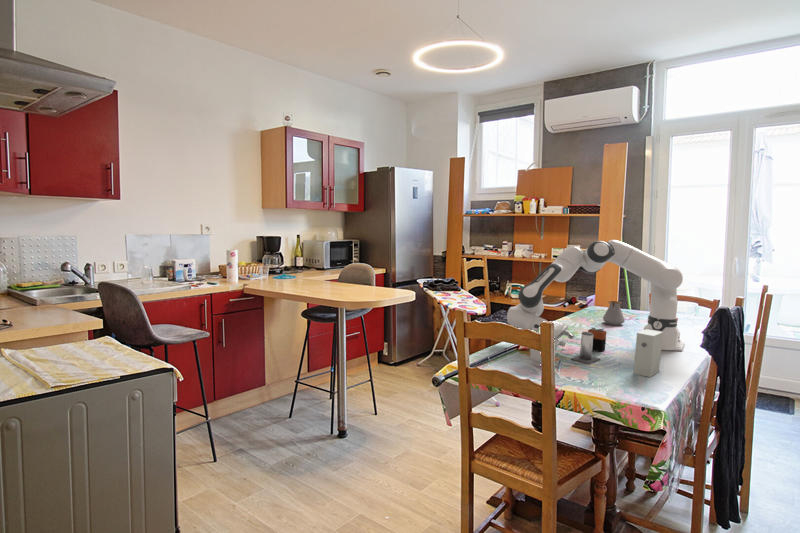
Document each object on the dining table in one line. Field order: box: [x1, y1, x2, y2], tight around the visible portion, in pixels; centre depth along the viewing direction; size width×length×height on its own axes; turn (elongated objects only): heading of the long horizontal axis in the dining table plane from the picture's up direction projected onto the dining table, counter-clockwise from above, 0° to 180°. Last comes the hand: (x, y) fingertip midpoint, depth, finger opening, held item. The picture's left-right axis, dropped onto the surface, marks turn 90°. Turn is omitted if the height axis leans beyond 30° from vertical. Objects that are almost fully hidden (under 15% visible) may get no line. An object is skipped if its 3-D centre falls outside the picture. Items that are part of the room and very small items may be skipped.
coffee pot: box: [602, 300, 626, 326], centre depth 262 cm, size 21×12×15 cm, turn 151°
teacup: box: [529, 340, 559, 367], centre depth 188 cm, size 12×15×10 cm
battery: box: [587, 327, 607, 353], centre depth 211 cm, size 4×7×10 cm, turn 45°
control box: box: [633, 329, 663, 378], centre depth 180 cm, size 11×6×16 cm, turn 133°
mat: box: [570, 354, 601, 365], centre depth 196 cm, size 10×8×1 cm
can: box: [579, 331, 593, 360], centre depth 195 cm, size 5×5×11 cm
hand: (569, 341), depth 201 cm, fingers open, 8 cm apart
